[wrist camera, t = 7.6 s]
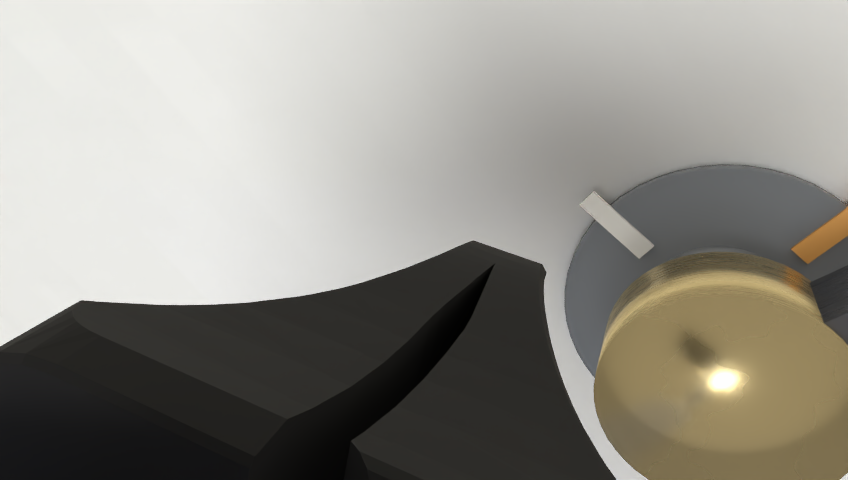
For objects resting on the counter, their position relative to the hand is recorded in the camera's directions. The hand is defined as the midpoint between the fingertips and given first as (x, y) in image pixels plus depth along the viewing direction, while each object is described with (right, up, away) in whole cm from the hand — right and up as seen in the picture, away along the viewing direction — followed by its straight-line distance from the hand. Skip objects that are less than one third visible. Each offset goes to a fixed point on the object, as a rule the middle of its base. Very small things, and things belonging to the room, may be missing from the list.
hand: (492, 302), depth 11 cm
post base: (+8, -1, +9) cm, 12 cm away
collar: (+9, 0, +5) cm, 10 cm away
